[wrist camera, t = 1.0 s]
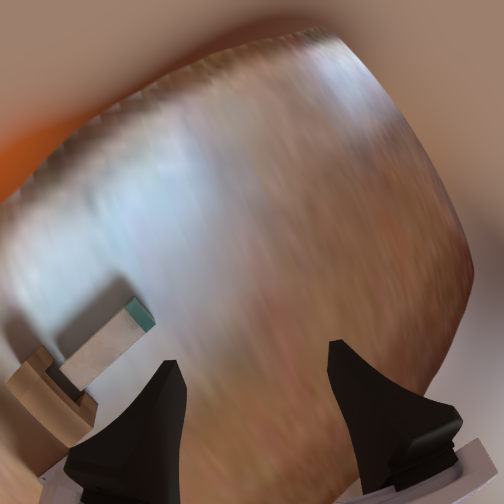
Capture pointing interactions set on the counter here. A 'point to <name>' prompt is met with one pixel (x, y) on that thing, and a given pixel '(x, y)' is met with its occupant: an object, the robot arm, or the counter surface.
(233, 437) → the counter surface
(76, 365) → the white teal bar
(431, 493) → the robot arm
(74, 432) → the angled brown block
